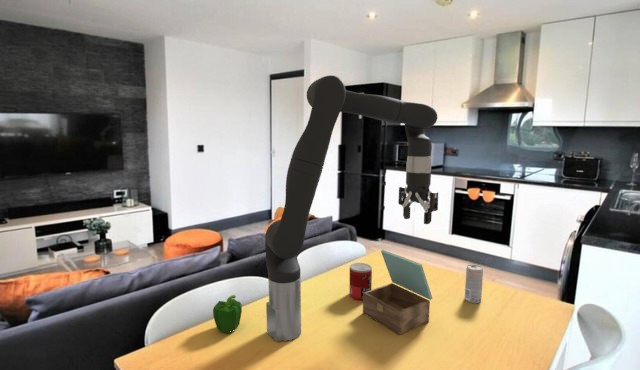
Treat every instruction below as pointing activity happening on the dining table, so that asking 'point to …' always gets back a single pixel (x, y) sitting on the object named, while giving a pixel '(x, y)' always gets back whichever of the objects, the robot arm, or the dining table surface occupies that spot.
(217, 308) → the bell pepper
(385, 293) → the box
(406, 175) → the robot arm
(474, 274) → the energy drink
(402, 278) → the lid
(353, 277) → the canned food
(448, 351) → the dining table surface
